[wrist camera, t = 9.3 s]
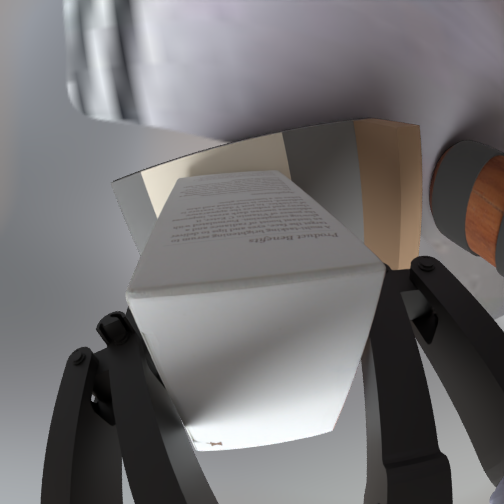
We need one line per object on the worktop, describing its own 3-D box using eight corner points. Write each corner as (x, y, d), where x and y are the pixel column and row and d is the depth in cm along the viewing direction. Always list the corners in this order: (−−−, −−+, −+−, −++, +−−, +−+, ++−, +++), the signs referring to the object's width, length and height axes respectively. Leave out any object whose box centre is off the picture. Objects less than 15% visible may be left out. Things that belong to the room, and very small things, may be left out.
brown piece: (113, 180, 15) (79, 209, 10) (368, 117, 15) (419, 125, 10) (185, 337, 21) (183, 388, 17) (376, 283, 21) (407, 322, 17)
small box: (279, 289, 18) (335, 433, 9) (194, 299, 18) (195, 455, 8) (280, 166, 15) (397, 264, 5) (175, 175, 14) (118, 297, 5)
